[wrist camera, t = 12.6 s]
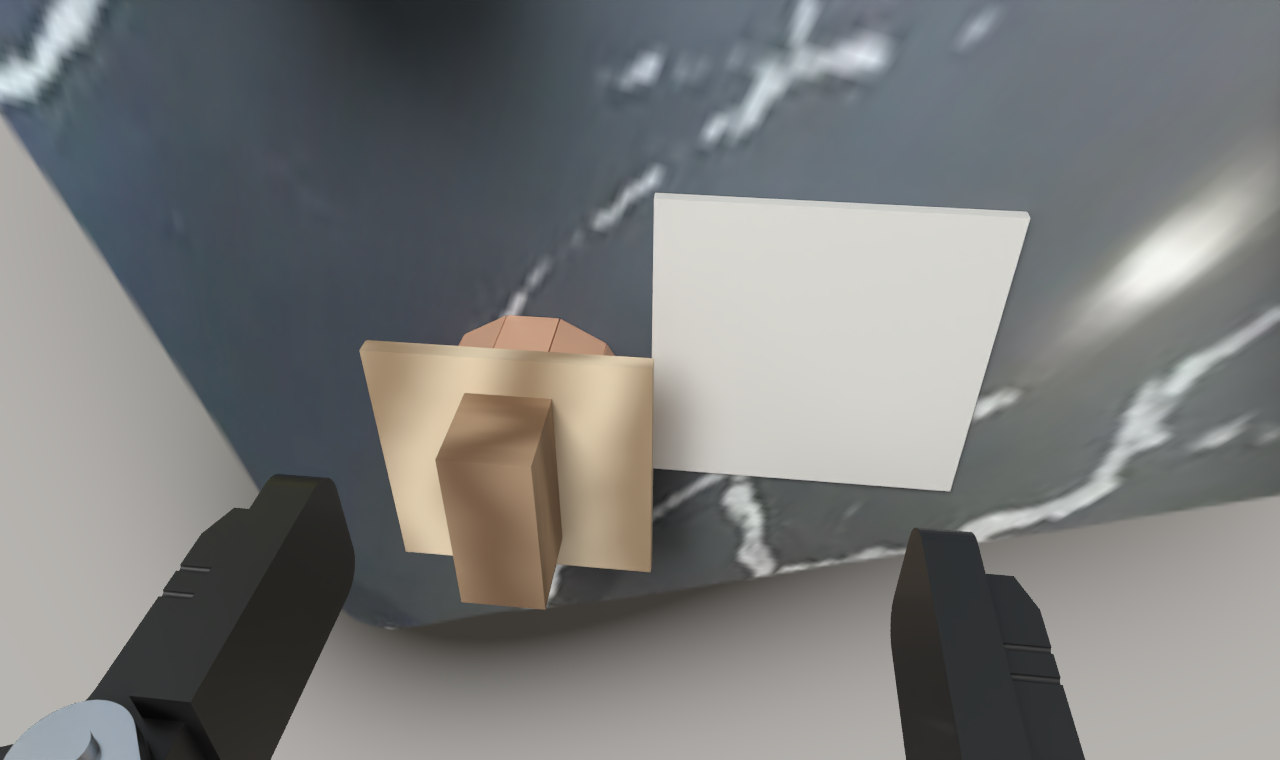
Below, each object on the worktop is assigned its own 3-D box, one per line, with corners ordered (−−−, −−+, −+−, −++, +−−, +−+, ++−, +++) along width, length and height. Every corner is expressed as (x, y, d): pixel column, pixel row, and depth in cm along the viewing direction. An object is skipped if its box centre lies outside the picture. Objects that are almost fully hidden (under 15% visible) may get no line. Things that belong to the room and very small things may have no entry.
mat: (1027, 211, 38) (1030, 218, 38) (948, 483, 48) (950, 491, 47) (655, 192, 40) (654, 198, 39) (651, 460, 49) (650, 468, 49)
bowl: (633, 323, 44) (620, 384, 40) (633, 472, 50) (622, 538, 46) (435, 310, 45) (403, 369, 41) (458, 458, 51) (433, 522, 47)
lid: (653, 358, 39) (641, 437, 35) (652, 560, 47) (641, 644, 43) (365, 340, 40) (319, 414, 36) (410, 540, 48) (376, 620, 44)
